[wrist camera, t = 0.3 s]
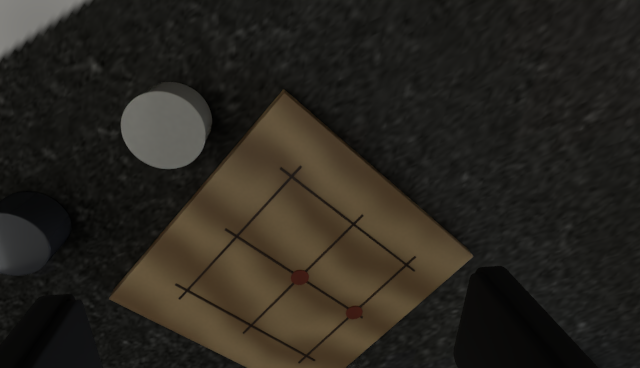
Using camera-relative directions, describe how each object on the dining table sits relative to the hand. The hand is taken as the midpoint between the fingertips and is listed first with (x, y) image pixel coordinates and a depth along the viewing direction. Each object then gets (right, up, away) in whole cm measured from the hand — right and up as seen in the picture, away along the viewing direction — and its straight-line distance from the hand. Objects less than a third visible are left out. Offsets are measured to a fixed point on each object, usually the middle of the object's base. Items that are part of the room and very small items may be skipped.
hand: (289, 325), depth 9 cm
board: (-1, -3, +21) cm, 21 cm away
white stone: (-8, +8, +15) cm, 19 cm away
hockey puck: (-19, +1, +17) cm, 25 cm away
